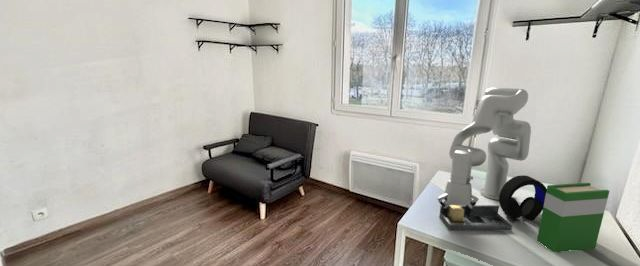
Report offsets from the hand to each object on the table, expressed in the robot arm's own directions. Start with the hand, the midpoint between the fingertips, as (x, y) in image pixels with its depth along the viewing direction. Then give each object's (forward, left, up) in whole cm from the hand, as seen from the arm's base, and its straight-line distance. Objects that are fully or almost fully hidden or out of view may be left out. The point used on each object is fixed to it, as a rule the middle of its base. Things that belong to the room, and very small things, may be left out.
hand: (455, 215), depth 124 cm
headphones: (-32, -5, -4) cm, 32 cm away
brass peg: (0, 0, -4) cm, 4 cm away
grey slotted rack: (-9, 0, -4) cm, 10 cm away
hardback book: (-37, +14, -5) cm, 40 cm away
